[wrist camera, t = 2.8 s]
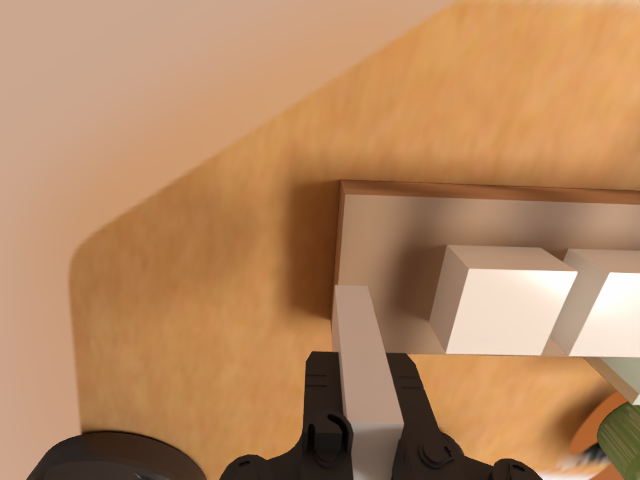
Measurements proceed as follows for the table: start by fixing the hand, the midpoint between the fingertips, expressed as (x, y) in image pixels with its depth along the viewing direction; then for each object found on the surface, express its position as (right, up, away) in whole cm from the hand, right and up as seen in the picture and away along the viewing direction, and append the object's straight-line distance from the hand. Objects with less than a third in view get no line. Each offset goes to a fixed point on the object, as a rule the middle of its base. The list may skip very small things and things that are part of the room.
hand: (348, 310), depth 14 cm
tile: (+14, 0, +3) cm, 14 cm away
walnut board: (+10, +2, +6) cm, 11 cm away
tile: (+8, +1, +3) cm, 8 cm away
